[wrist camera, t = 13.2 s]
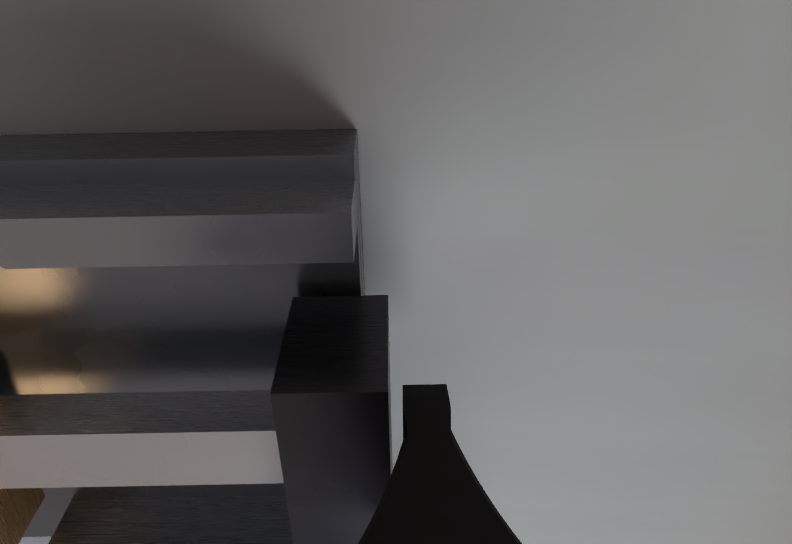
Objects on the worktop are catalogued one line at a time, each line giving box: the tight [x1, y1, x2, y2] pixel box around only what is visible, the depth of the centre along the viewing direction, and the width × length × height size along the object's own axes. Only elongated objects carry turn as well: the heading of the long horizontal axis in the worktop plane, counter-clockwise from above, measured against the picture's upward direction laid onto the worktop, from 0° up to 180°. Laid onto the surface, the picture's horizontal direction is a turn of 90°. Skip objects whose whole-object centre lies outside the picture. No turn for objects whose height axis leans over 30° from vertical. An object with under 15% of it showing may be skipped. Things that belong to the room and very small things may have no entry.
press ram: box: [0, 295, 392, 544], centre depth 13 cm, size 7×12×3 cm, turn 91°
